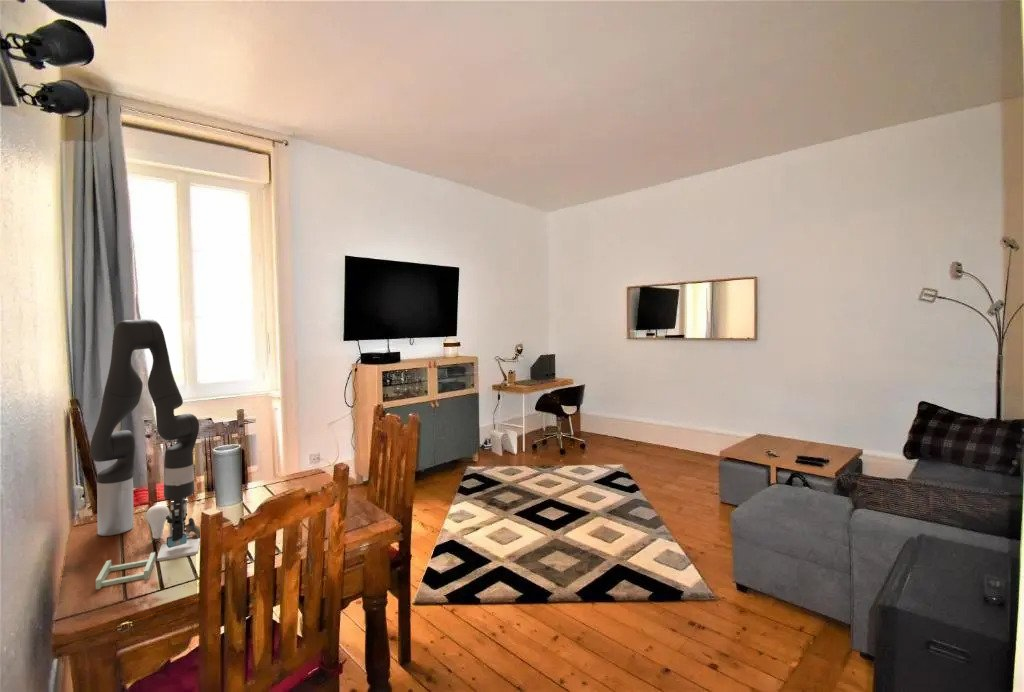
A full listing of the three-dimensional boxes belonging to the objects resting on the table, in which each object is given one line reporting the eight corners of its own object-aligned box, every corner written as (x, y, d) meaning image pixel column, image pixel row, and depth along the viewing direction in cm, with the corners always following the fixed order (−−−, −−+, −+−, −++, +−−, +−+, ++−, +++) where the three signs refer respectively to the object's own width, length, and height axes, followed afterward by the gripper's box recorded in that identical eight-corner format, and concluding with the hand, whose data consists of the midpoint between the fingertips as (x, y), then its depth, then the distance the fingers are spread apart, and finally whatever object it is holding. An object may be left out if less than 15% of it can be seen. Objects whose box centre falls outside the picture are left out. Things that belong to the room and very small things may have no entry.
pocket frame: (106, 569, 133) (106, 560, 133) (155, 560, 139) (155, 552, 139) (95, 589, 123) (95, 580, 123) (148, 579, 128) (148, 570, 128)
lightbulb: (156, 543, 149) (156, 509, 149) (140, 541, 150) (140, 507, 150) (174, 535, 155) (173, 502, 155) (158, 533, 156) (158, 500, 156)
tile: (161, 547, 147) (161, 544, 147) (200, 540, 152) (200, 538, 152) (156, 561, 138) (156, 558, 138) (197, 553, 143) (197, 551, 143)
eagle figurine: (167, 537, 151) (189, 535, 149) (175, 514, 155) (197, 512, 153) (186, 542, 157) (209, 540, 155) (194, 519, 161) (216, 517, 159)
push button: (190, 538, 149) (189, 506, 149) (194, 543, 146) (194, 511, 145) (164, 544, 144) (164, 512, 144) (168, 550, 141) (168, 517, 141)
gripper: (167, 475, 149) (167, 529, 149) (160, 489, 136) (160, 547, 137) (195, 472, 152) (195, 524, 153) (191, 485, 140) (192, 542, 141)
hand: (179, 535), depth 145 cm, fingers closed on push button, 4 cm apart
